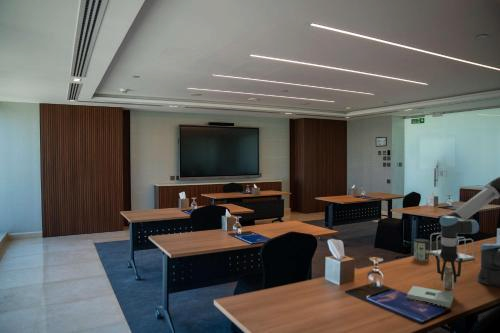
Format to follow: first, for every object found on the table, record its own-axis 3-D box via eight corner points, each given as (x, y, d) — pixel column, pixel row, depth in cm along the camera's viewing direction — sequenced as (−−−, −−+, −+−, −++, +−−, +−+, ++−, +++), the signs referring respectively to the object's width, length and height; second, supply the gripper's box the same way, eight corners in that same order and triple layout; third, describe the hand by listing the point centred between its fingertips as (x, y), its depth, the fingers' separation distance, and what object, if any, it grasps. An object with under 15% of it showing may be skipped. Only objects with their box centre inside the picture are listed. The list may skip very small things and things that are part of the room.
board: (453, 298, 188) (453, 293, 188) (450, 307, 176) (450, 302, 176) (413, 290, 200) (413, 285, 200) (407, 298, 188) (407, 293, 188)
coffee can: (425, 257, 267) (425, 238, 266) (431, 261, 256) (432, 241, 256) (411, 257, 267) (411, 238, 267) (417, 261, 256) (417, 241, 256)
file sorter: (475, 259, 260) (475, 238, 260) (458, 262, 254) (458, 240, 253) (444, 251, 284) (444, 231, 283) (428, 253, 277) (428, 233, 277)
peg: (453, 293, 195) (454, 267, 194) (452, 296, 191) (453, 269, 191) (444, 291, 197) (444, 265, 197) (443, 294, 194) (443, 267, 193)
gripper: (467, 245, 192) (466, 288, 192) (433, 241, 202) (432, 282, 202) (466, 248, 186) (465, 292, 186) (430, 244, 195) (430, 286, 196)
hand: (448, 287), depth 194 cm, fingers closed on peg, 3 cm apart
